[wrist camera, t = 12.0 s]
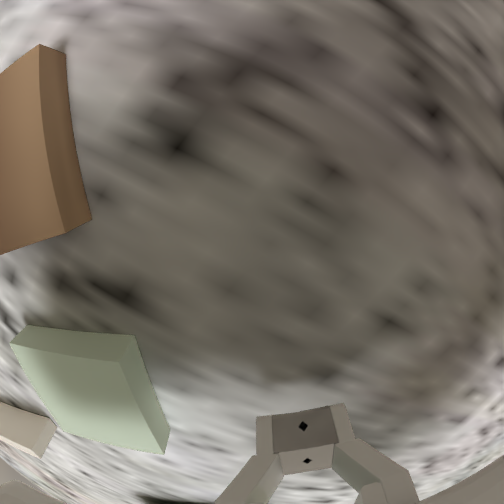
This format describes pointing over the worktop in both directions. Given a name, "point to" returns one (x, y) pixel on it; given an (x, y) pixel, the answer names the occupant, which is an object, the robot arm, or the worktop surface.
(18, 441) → the white u-shaped frame
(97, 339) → the sage tile
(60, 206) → the walnut tile
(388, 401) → the worktop surface
